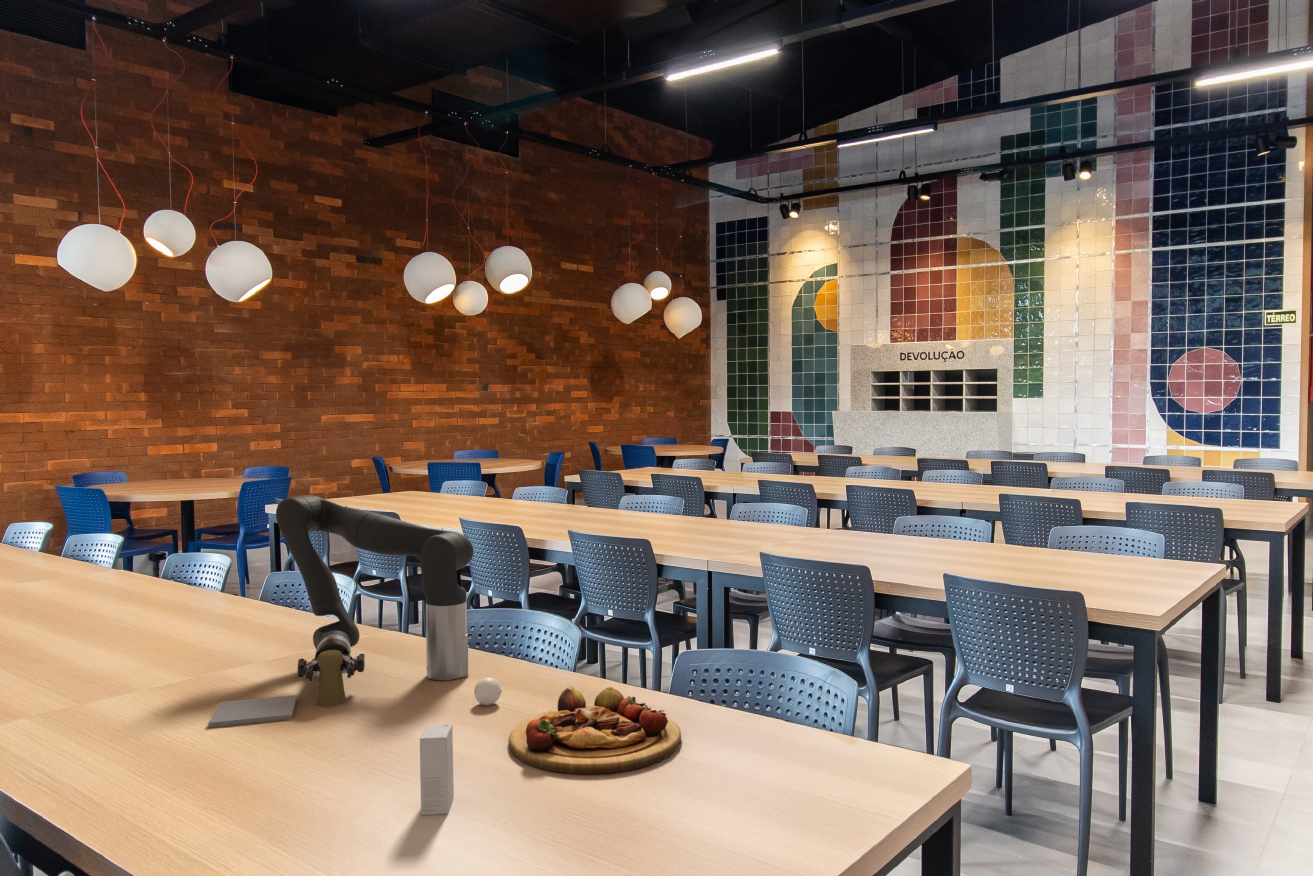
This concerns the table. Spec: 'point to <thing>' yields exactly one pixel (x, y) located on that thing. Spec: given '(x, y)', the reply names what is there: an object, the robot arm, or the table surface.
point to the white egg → (487, 691)
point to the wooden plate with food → (595, 735)
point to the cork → (330, 679)
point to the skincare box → (436, 769)
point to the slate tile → (253, 711)
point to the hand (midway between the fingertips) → (329, 674)
